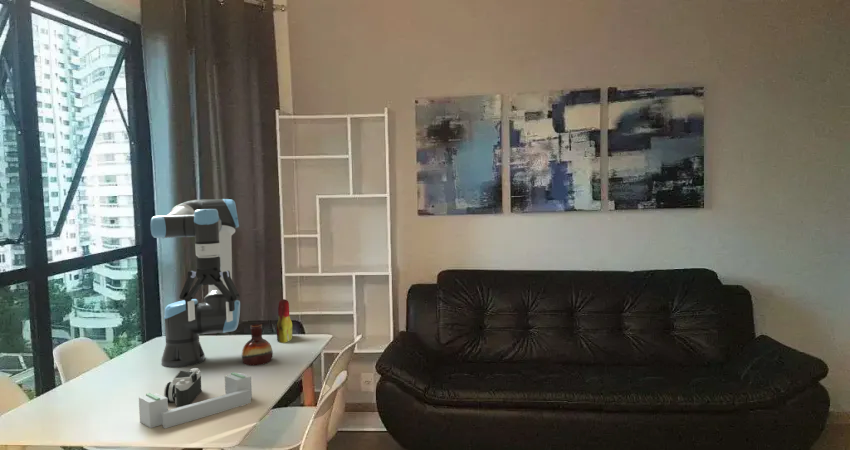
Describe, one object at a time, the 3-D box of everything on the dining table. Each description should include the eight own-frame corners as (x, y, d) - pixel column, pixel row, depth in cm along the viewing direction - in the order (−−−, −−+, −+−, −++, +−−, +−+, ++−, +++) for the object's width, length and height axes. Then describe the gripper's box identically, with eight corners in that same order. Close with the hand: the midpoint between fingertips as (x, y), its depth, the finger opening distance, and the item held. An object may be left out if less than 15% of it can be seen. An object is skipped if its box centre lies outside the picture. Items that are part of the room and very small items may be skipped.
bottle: (289, 349, 248) (287, 301, 247) (273, 350, 248) (272, 301, 247) (295, 342, 260) (293, 296, 259) (280, 343, 260) (278, 297, 259)
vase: (245, 372, 217) (243, 329, 216) (239, 364, 227) (238, 324, 226) (276, 367, 222) (274, 325, 221) (269, 360, 232) (267, 320, 231)
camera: (177, 393, 195) (176, 362, 194) (205, 392, 195) (204, 361, 195) (159, 410, 179) (158, 377, 178) (189, 409, 179) (188, 375, 179)
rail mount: (139, 422, 169) (138, 395, 169) (240, 394, 192) (239, 370, 191) (155, 431, 162) (154, 403, 162) (258, 401, 185) (257, 376, 184)
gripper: (166, 257, 196) (169, 322, 197) (237, 257, 191) (240, 324, 192) (179, 255, 203) (182, 317, 204) (248, 255, 198) (251, 319, 200)
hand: (210, 320), depth 198 cm, fingers open, 13 cm apart
